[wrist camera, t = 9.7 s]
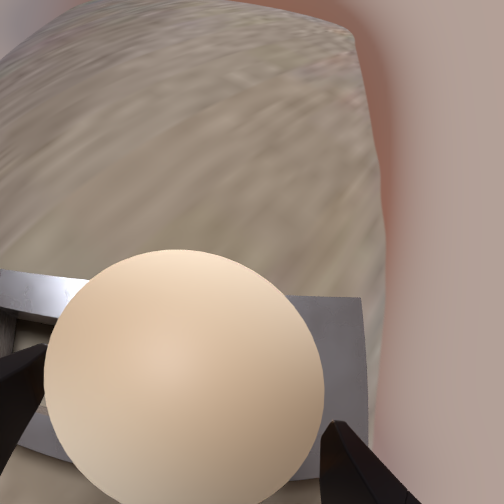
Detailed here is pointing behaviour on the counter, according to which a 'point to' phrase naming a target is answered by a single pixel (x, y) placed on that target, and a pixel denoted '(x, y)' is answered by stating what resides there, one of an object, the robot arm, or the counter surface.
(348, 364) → the silver slotted plate
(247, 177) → the counter surface
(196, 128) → the counter surface
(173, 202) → the counter surface
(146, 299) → the peg
